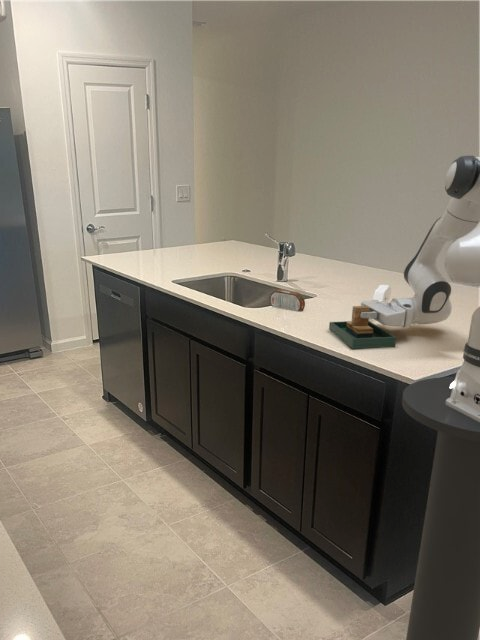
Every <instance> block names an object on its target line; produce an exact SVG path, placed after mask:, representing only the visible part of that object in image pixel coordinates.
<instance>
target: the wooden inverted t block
mask: <svg viewBox="0 0 480 640" xmlns="http://www.w3.org/2000/svg"><path fill="white" fill-rule="evenodd" d="M360 312H370V307H368V306H361V305H354V306H352V311H351V320H350V321H351V322H347V325H346V331H348V332H349V333H351V334H352V335H353V336H355V337H356V338H372V335H373V328H371V327H370V326H368V322H369V318H361V317H360V316H359V315H360Z"/></svg>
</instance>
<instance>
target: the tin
mask: <svg viewBox="0 0 480 640" xmlns="http://www.w3.org/2000/svg"><path fill="white" fill-rule="evenodd" d="M269 304H270V306H271V307H273V308H279V309H284V310H290V311H294V312H295V311H296V312H302V311H304V310H305V308H306V307H305V306H306V300H305V297H304V296H303V295H302V294H301V293H300V292H298V291H292V290H288V289H282V288H278V289H276V290H274V291H273V292H271V294H270V295H269Z"/></svg>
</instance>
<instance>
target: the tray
mask: <svg viewBox="0 0 480 640" xmlns="http://www.w3.org/2000/svg"><path fill="white" fill-rule="evenodd" d="M351 321H352V320H347V321H329V322H328V323H329V325H328V330H329V331H331V332H332V334H334V335H335V336H336V337H337V338H339V339H340V340H341V341H342V342H343V343H344V344H346V345H347V346H348V347H349V348H351V349H371V348H372V349H373V348H395V347H396V341H397V337H396V336H395V335H393V334H392V333H390V332H388V331H387V330H385V329H383V328H381V327H380V326H379V325H377V324H375V323H374V322H372V321H371V322H370V321H369V322H368V326H370V327H371V328H373V335H372V338H356V337H355V336H353V335H352V334H351V333H349V332H348V331H346V325H347V322H351Z"/></svg>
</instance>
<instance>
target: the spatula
mask: <svg viewBox="0 0 480 640" xmlns="http://www.w3.org/2000/svg"><path fill="white" fill-rule="evenodd" d="M391 294H392V287H391V285H389V284H379V285H378V287H377V288H376V289H375V290H374V293H373V296H372V301H382V302H385V303H387V304H388V303H389V302H390V298H391ZM369 321H370V322H371V323H372V321H373V319H369Z"/></svg>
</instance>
